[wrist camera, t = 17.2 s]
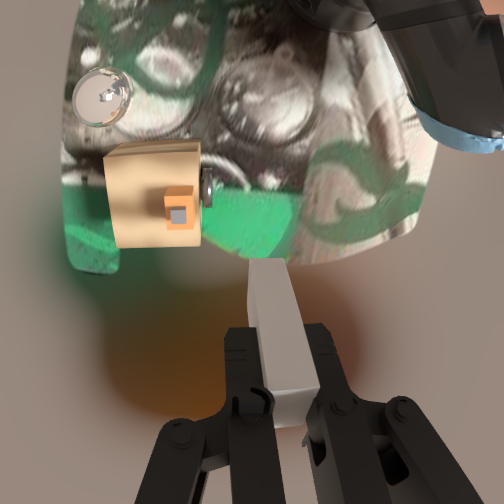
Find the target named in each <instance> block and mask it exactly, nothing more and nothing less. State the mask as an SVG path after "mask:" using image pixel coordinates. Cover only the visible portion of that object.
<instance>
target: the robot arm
mask: <svg viewBox="0 0 504 504" xmlns="http://www.w3.org/2000/svg"><path fill="white" fill-rule="evenodd" d="M287 2H288V4H289V5H290V6H291V8H292V9H293V10H294V11H295V12H296V13H297V14H298V15H299V16H300V17H302V18H303V19H304V20H306V21H307V22H309V23H310V24H312V25H314V26H316V27H318V28H321V29H323V30H326V31H330V32H335V33H353V32H358V31H362V30H365V29H368V28H370V27H372V26H374V25H376V24H377V25H378V27H379V29H380V32H381V34H382V36H383V38H384V40H385V42H386V44H387V46H388V48H389V50H390V52H391V54H392V56H393V58H394V61H395V63H396V65H397V67H398V70H399V72H400V74H401V77H402V79H403V81H404V84H405V86H406V89H407V91H408V98H409V101H410V102H411V104H412V105H413V107H414V108H415V110H416V113H417V115H418V118H419V120H420V123H421V125H422V127H423V128H424V130H425V131H426V132H427V133H428V134H429V135H430V136H431V137H432V138H433V139H434V140H436V141H437V142H439V143H441V144H443V145H445V146H447V147H450V148H453V149H456V150H460V151H465V152H470V153H493V152H494V149H498V150H500V151H501V150H504V15H501V14H500V15H499V14H498V15H486V14H485V13H484V10H483V8H482V5H481V3H480V1H479V0H287ZM247 309H248V318H249V327H241V328H229V329H228V332H227V334H226V335H225V337H224V354H225V355H224V356H225V385H226V386H225V387H226V401H225V404H224V406H223V407H222V409H221V410H220V411H219V412H218V413H216V414H215V415H213V416H211V417H208V418H205V419H201V420H198V421H195V422H194V421H192V420H189V419H184V418H178V419H174V420H170V421H169V422H167V423H166V424H165V425H164V426H163V428H162V429H161V430H160V432H159V435H158V438H157V440H156V443H155V446H154V449H153V452H152V454H151V457H150V460H149V463H148V466H147V469H146V472H145V474H144V477H143V480H142V483H141V486H140V489H139V492H138V494H137V497H136V500H135V503H134V504H201V502H202V498H203V494H204V490H205V487H206V482H207V479H208V475H209V471H212V470H215V469H218V468H221V467H224V466H227V465H230V477H231V478H230V479H231V491H232V492H231V493H232V504H286V501H285V494H284V488H283V482H282V474H281V468H280V461H279V454H278V449H277V441H276V436H275V428H281V427H291V426H300V425H303V424H304V422H305V420H306V422H307V427H308V431H307V433H306V435H305V437H304V439H303V441H302V447H305V446H306V444H307V447H308V452H309V457H310V463H311V468H312V473H313V479H314V484H315V489H316V494H317V500H318V504H484V503H483V501H482V500H481V498H480V497H479V495H478V493H477V492H476V490H475V489H474V487H473V485H472V484H471V482H470V481H469V479H468V478H467V476H466V475H465V473H464V472H463V470H462V469H461V467H460V466H459V464H458V463H457V461H456V460H455V458H454V457H453V455H452V454H451V452H450V451H449V449H448V448H447V446H446V445H445V443H444V442H443V440H442V439H441V438H440V436H439V435H438V433H437V432H436V430H435V429H434V427H433V426H432V425H431V423H430V422H429V420H428V419H427V418H426V416H425V415H424V413H423V412H422V411H421V409H420V408H419V406H418V405H417V404H416V403H415V402H414V401H413V400H412V399H410V398H408V397H406V396H397V397H394V398H392V399H391V400H390V401H388V403H380V402H372V401H367V400H363V399H361V398H359V397H358V396H357V395H356V394H354V393H353V392H352V391H351V390H350V387H349V385H348V383H347V380H346V377H345V374H344V371H343V368H342V365H341V362H340V359H339V356H338V354H337V350H336V347H335V346H334V342H333V339H332V336H331V333H330V332H329V331H328V329H327V328H326V327H325V326H324V325H323V324H322V323H317V324H303V323H302V319H301V316H300V312H299V309H298V305H297V302H296V298H295V295H294V291H293V288H292V285H291V281H290V278H289V275H288V271H287V268H286V264H285V261H284V258H250V262H249V279H248V298H247Z"/></svg>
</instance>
